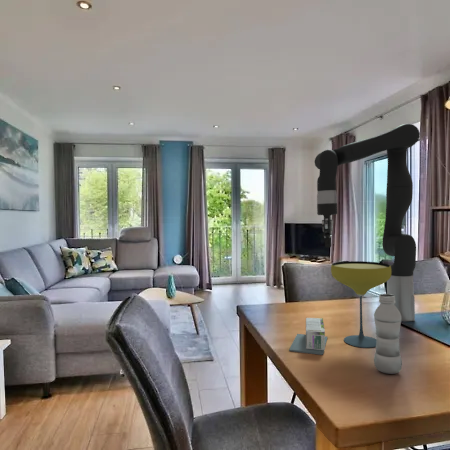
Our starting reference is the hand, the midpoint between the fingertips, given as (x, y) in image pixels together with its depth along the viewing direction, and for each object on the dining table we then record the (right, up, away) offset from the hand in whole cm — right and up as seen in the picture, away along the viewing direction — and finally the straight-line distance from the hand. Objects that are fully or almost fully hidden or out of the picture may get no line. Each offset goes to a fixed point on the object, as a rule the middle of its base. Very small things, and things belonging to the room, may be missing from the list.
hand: (328, 247), depth 136 cm
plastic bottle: (+2, -30, -45) cm, 54 cm away
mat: (-13, -30, -24) cm, 40 cm away
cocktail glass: (+4, -29, -23) cm, 38 cm away
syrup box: (-10, -26, -16) cm, 32 cm away
